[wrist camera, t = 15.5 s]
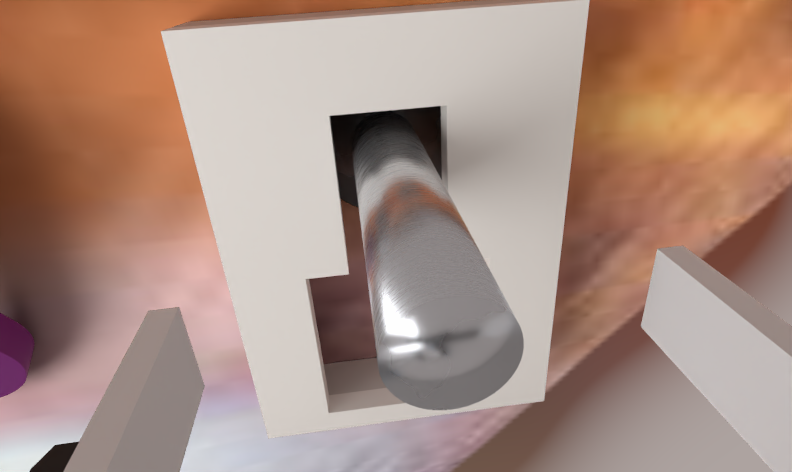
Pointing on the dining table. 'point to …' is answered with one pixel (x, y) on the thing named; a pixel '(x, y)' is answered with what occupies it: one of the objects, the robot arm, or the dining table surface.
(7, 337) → the mounting bracket
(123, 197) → the dining table surface
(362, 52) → the keyhole plate
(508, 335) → the headed peg
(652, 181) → the dining table surface
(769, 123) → the dining table surface
